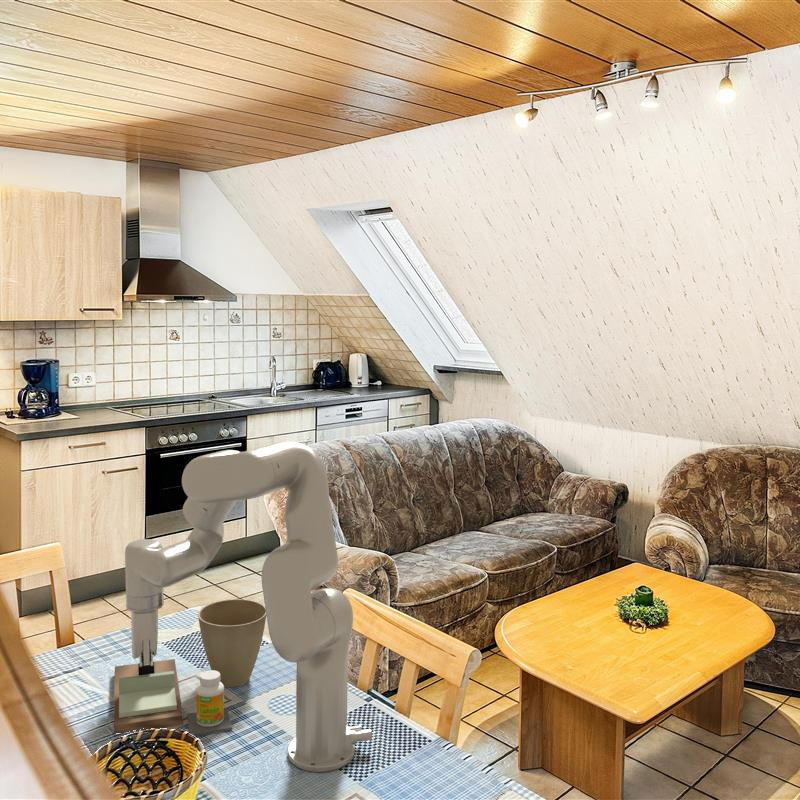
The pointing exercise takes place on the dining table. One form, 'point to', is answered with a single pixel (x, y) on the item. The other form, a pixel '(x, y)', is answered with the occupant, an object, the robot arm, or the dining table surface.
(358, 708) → the dining table surface
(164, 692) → the slide cover
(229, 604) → the plant pot
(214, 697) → the supplement bottle
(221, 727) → the pad
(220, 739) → the dining table surface
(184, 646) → the dining table surface
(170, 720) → the well board
